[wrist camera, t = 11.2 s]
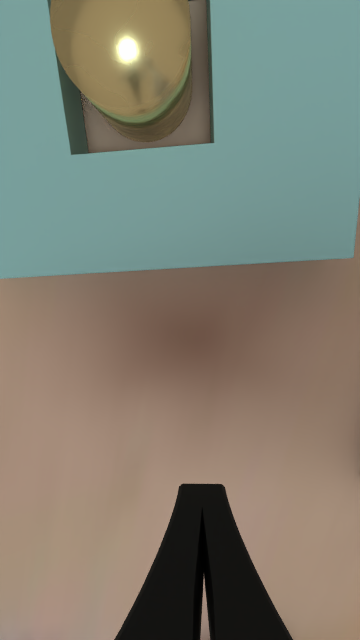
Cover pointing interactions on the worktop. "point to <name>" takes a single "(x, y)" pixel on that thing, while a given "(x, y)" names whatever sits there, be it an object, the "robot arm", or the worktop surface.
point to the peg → (128, 60)
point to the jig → (188, 151)
